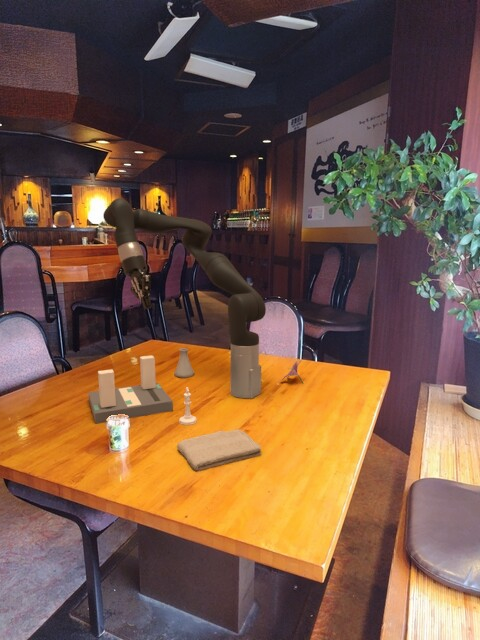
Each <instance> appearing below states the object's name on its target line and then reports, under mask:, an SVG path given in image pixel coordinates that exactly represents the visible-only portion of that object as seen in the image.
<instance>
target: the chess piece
mask: <svg viewBox="0 0 480 640" xmlns="http://www.w3.org/2000/svg"><path fill="white" fill-rule="evenodd" d="M191 396H192V393H190V390H189V387H187V386H186V387H185V393H183V397H184V401H183V404H184V405H185V411H184V415H183V416H182V415H181V417H179V419H178V423H179V424H181V425H183V426H189V425H194V424H196V423H197V416H194V415H192V414H191V409H190V404H192V401H191Z"/></svg>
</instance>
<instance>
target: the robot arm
mask: <svg viewBox="0 0 480 640" xmlns="http://www.w3.org/2000/svg"><path fill="white" fill-rule="evenodd" d="M103 220H104V222H105V223H106V224H108V225H109V226H110V227H113V228H115V231H114V233H113V237H114V242H115V245H116V247H117V252H118V256H119V260H120V262H121V267H122V268H123V269H122V270H123V273H124V275H125V276H127V277H130V280H131V284H132V286H131V287H130V288H129V289H130V292H132V294H133V295H134V296H135V298H136V299H137V300H139V299H140V300H141V302H142V308H143V309H144V310H149V309H151V308H152V306H153V305H152V303H151V300H150V299H151V298H150V293H151V292H152V291H151V290H152V288H151V287H152V286H151V285H152V284H151V283H152V281H151V275H150V274H147V273H146V271H147V270H148V266H147V262H146V259H145V257H144V253H143V250H142V247H141V245H140V243H139V241H138V238H137V235H136V230H138V231H143V232H147V233H151V234H161V233H167V232H170V231H174V230H181V229H183V230H184V232H183V235H182V237H181V243H182V245H183V246H184V248H185V249H186V251H187V252H189V253H190V254H191V256H192V257H193V258H195V260H196V261H197V263H198V264H199V265H200V266H201V268H202V269H203V270H204V272H205V274H206V276H207V277H208V278H209V280H210V281H211V282H212V284H214V285H215V286H216V287H218V288H219V289H221V290H222V291H225V292H226V293H229V294H231V296H230V297H229V300H228V304H227V318H228V319H227V320H228V334H229V338H230V339H229V340H230V394H231V396H233V397H235V398H238V399H251V400H252V399H254V398H256V397H257V396H259V395H261V392H262V365H260V362H259V361H260V357H259V356H260V335H259V334H258V333H256V332H254V331H251V330H248V329H247V323H252V322H257V321H260V320H262V319H264V317H265V316H266V311H267V309H266V304H265V300H264V299H263V298H262V296H261V295H260V294H259V292H257V291H256V289H254V288H253V287H252V285H251V284H249V283H248V282H247V281H246V280H245V278H243V276H242V275H241V274H240V272H238V270H237V269H236V268H235V266H234V265H233V263H232V262H231V261H230V259H229V258H228V257H227V256H226V255H225V254H223V253H221V252H209V251H208V252H207V251H206V249H205V248H206V245H207V243H208V242H209V240H210V238H211V235H212V232H213V231H212V227H211V226H210V225H209V224H208V223H206V222H204V221H202V220H199V219H194V218H188V217H183V216H173V215H167V214H166V215H165V214H160V213H157V212H153V211H150V210H147V209H142V208H138V209H134V210H133V209H132V207H131V205H130V203H129V202H128V201H127V200H126V199H124V198H120V197H119V198H115V199H114V200H112V201H111V203H110V204H109V205H108V207H106V209H105V210H104V212H103Z"/></svg>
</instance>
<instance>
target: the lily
mask: <svg viewBox="0 0 480 640" xmlns="http://www.w3.org/2000/svg"><path fill="white" fill-rule="evenodd" d="M303 360H304V359H303V358H302V359H301V360H299V362H298V360H297V361H295V362H294V364H292V367H291V368H289V370H290V371H289V372H288V373H287V374H286V375H285V376H283V378H282V379H281V380H280V382H282V381H284V379H285V378H287V379H289V377H291V376H297V377H298V378H299V379H300V381H301V383H302V384H304V382H303V380H302V378H301V377H300V375H299V374H298V369H299V368H298V367H299V365H300V363H302V361H303Z"/></svg>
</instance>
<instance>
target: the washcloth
mask: <svg viewBox="0 0 480 640" xmlns="http://www.w3.org/2000/svg"><path fill="white" fill-rule="evenodd" d="M176 447H177V450H178V451H179V452H180V454H181V455H182V456H184V457H185V459H186V460H187V463H188V464H189V465H190V467H191V468H192V469H193V470H194V471H195V472H199V471H202V470H206V469H210V468H215V467H217V466H222V465H226V464H227V465H228V463H229V464H230V463H233V462H236V461H237V462H238V461H240V460H241V461H242V460H246V459H249V458H254V457H257V456H258V457H259V456H261V455H262V453H261V444H258V443H257V442H255V441H254V440H253V439H252V438H251V437H250V435H249V434H247V432H245V431H243V430H241V429H234V430H228V431H227V430H226V431H223V430H218V431H216V432H213V433H208V434H203V435H197V436H195V437H191V438H185V439H183V440H180V441H179V442H178V443H177V445H176Z"/></svg>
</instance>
